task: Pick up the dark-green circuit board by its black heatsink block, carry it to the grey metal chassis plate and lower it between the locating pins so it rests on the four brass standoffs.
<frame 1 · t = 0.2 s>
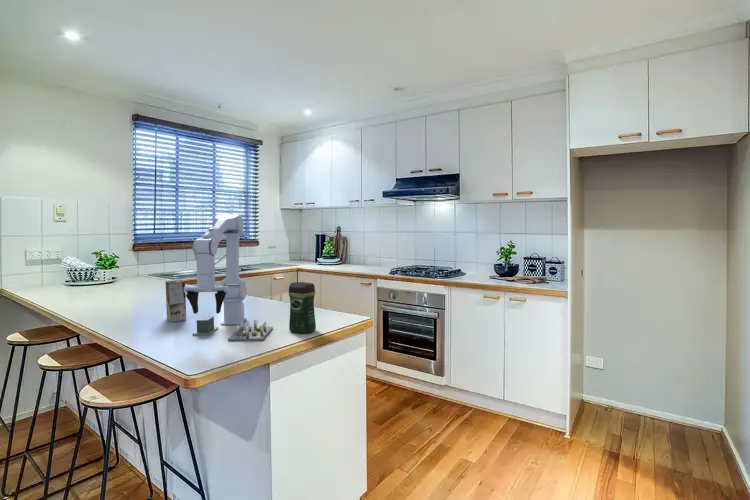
hand: (207, 312, 139), 10 cm above the table, tool pointing down, fingers open, 7 cm apart
coffee jar: (302, 331, 153), on the table
coffee box: (176, 319, 171), on the table
board: (205, 332, 151), on the table
chassis: (251, 334, 148), on the table
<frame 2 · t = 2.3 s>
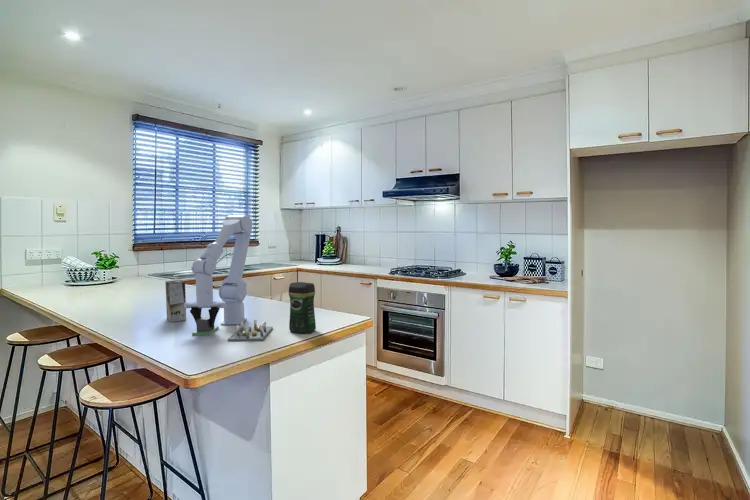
hand: (205, 327, 151), 2 cm above the table, tool pointing down, fingers closed on board, 4 cm apart
board: (205, 332, 151), on the table, touching gripper
everything else where it was.
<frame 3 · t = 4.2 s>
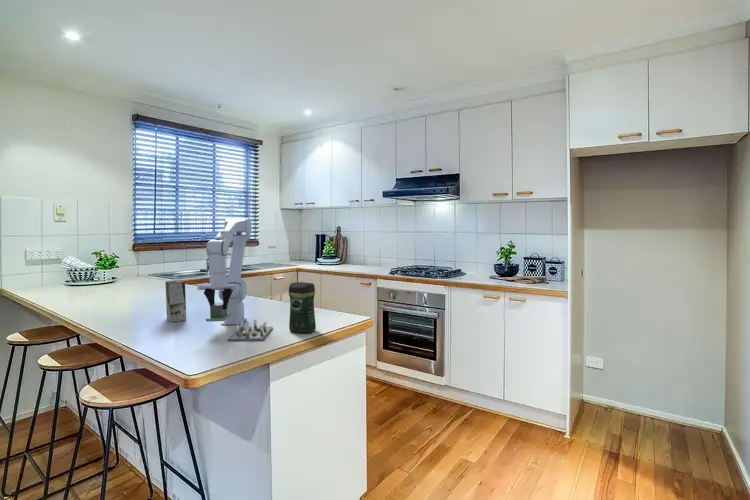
hand: (218, 309, 149), 9 cm above the table, tool pointing down, fingers closed on board, 4 cm apart
board: (219, 318, 150), point 5 cm above the table, touching gripper
everything else where it was.
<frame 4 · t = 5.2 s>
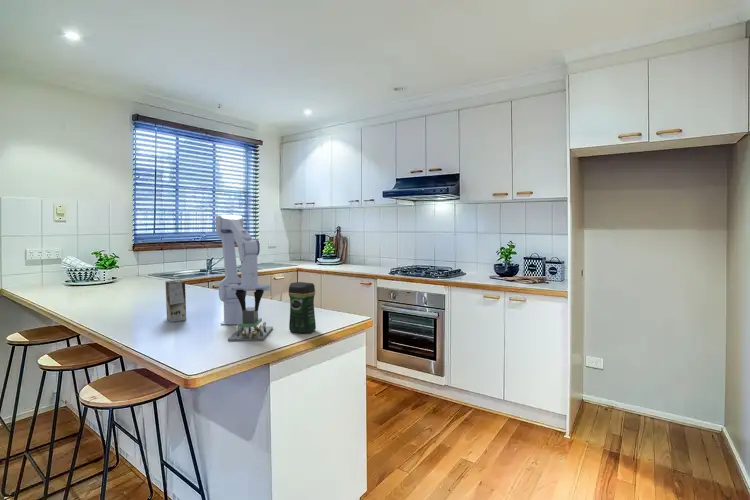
hand: (250, 310, 147), 9 cm above the table, tool pointing down, fingers closed on board, 4 cm apart
board: (250, 323, 148), point 4 cm above the table, touching gripper
everything else where it was.
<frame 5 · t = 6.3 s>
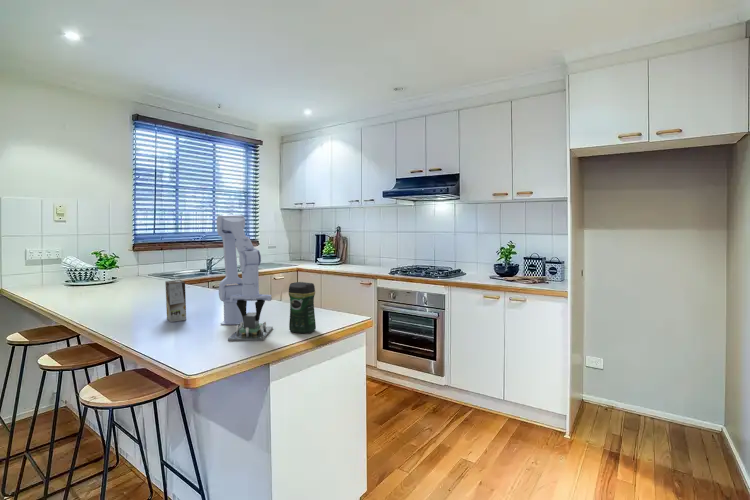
hand: (251, 320, 148), 5 cm above the table, tool pointing down, fingers closed on board, 4 cm apart
board: (251, 329, 148), point 2 cm above the table, touching chassis, gripper
everything else where it was.
when the fingers open (5 cm above the table, at t = 6.8 s): board stays where it is, resting on chassis.
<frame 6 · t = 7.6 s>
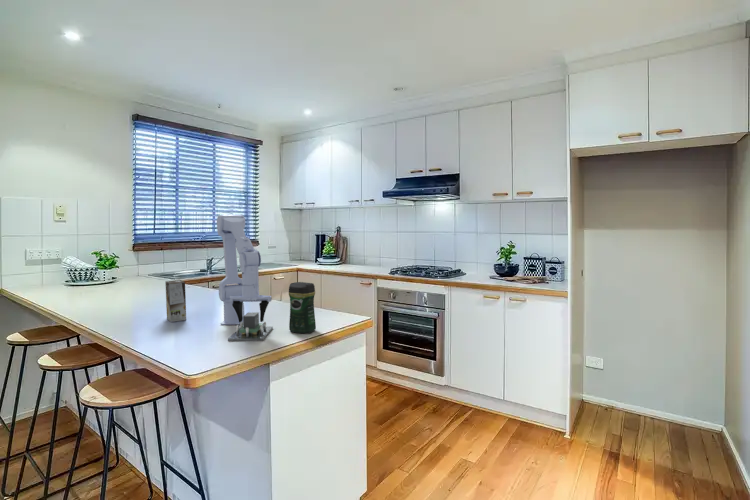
hand: (251, 321, 148), 5 cm above the table, tool pointing down, fingers open, 7 cm apart
board: (251, 329, 148), point 2 cm above the table, touching chassis
everything else where it was.
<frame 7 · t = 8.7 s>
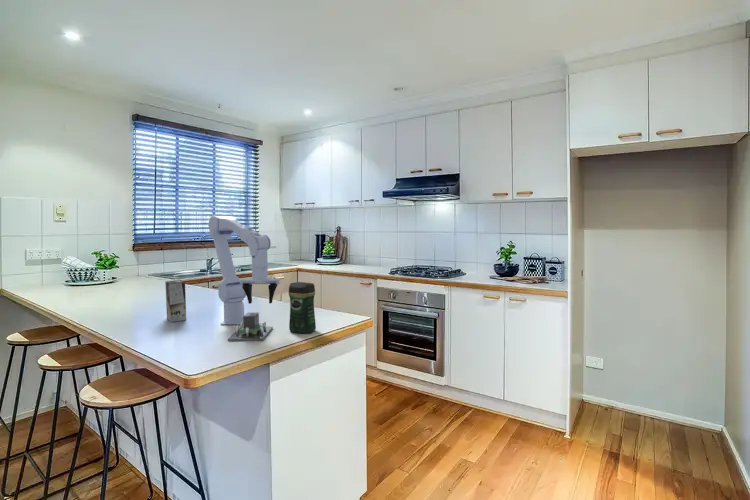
hand: (260, 303, 153), 10 cm above the table, tool pointing down, fingers open, 7 cm apart
nothing on the table moved.
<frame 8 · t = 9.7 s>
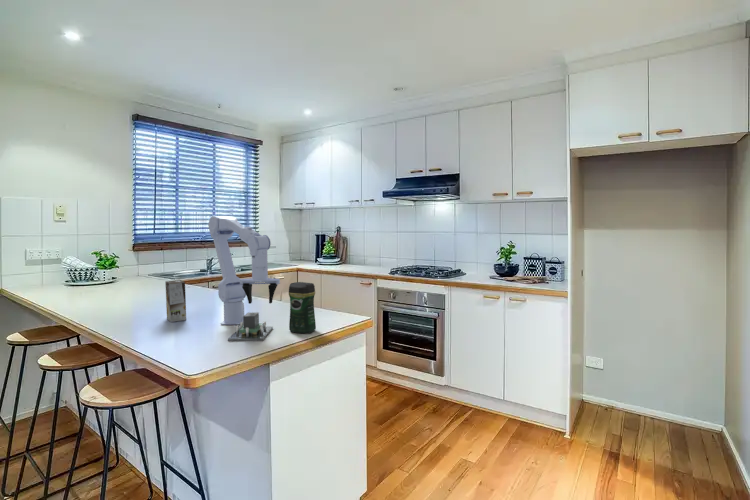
hand: (260, 303, 153), 10 cm above the table, tool pointing down, fingers open, 7 cm apart
nothing on the table moved.
at the end: board 0.1 cm off-centre on the chassis, point 2.0 cm above the chassis's base; board tilted 0°; the gripper is holding nothing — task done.
